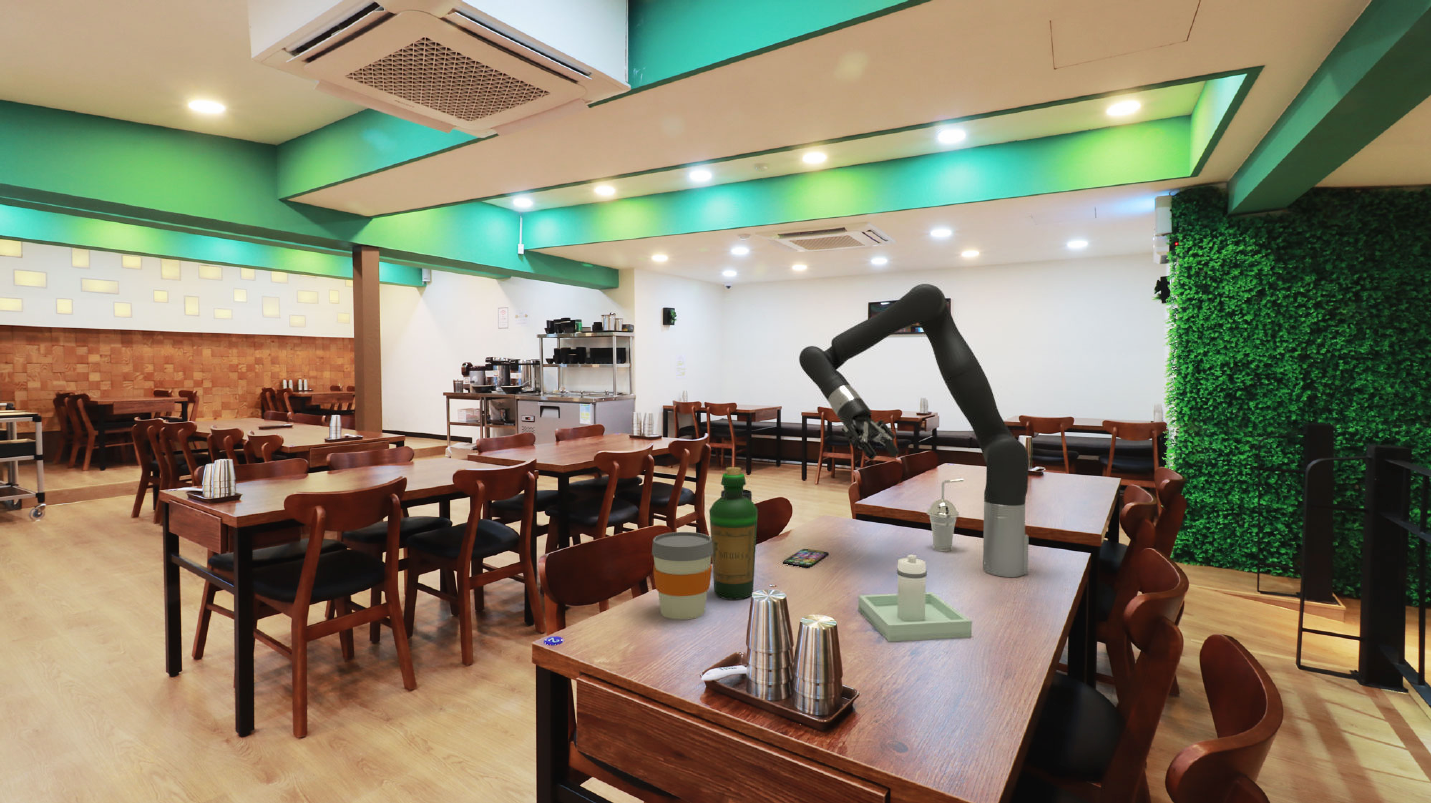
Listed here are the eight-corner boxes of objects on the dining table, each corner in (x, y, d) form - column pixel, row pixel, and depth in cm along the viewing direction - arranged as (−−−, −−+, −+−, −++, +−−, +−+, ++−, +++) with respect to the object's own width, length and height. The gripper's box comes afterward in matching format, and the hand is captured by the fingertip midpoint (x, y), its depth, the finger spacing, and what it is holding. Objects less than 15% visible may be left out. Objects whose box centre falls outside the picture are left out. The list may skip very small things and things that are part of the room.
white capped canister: (918, 611, 131) (919, 551, 130) (930, 622, 125) (931, 559, 125) (892, 613, 130) (892, 552, 130) (903, 623, 125) (904, 560, 124)
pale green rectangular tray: (932, 606, 137) (932, 592, 136) (971, 636, 121) (971, 621, 121) (858, 609, 135) (858, 595, 134) (888, 641, 119) (888, 625, 119)
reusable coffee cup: (706, 625, 126) (705, 548, 126) (644, 620, 129) (643, 545, 128) (718, 602, 139) (718, 533, 138) (661, 598, 141) (661, 530, 141)
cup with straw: (937, 543, 186) (938, 474, 185) (966, 550, 179) (967, 478, 178) (920, 548, 181) (921, 477, 180) (950, 555, 174) (950, 481, 173)
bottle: (700, 597, 142) (700, 469, 141) (723, 583, 152) (722, 463, 150) (745, 605, 137) (745, 473, 136) (765, 590, 147) (765, 466, 145)
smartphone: (780, 562, 167) (803, 548, 179) (780, 565, 167) (803, 551, 180) (809, 566, 163) (830, 552, 176) (809, 570, 163) (830, 555, 176)
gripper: (838, 397, 160) (875, 448, 151) (875, 396, 168) (912, 444, 160) (822, 418, 164) (857, 468, 156) (859, 415, 173) (894, 463, 164)
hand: (885, 456), depth 158 cm, fingers open, 8 cm apart
